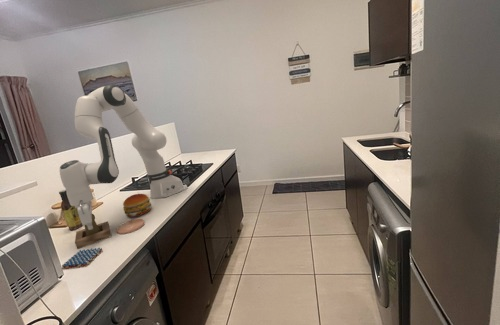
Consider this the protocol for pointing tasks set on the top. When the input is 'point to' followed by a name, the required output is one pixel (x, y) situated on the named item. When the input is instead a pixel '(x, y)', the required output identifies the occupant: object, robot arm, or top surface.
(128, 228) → the saucer
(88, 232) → the cork
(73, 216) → the sauce bottle
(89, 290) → the top surface
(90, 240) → the brown wooden tray
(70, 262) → the woven mat
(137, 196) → the burger
